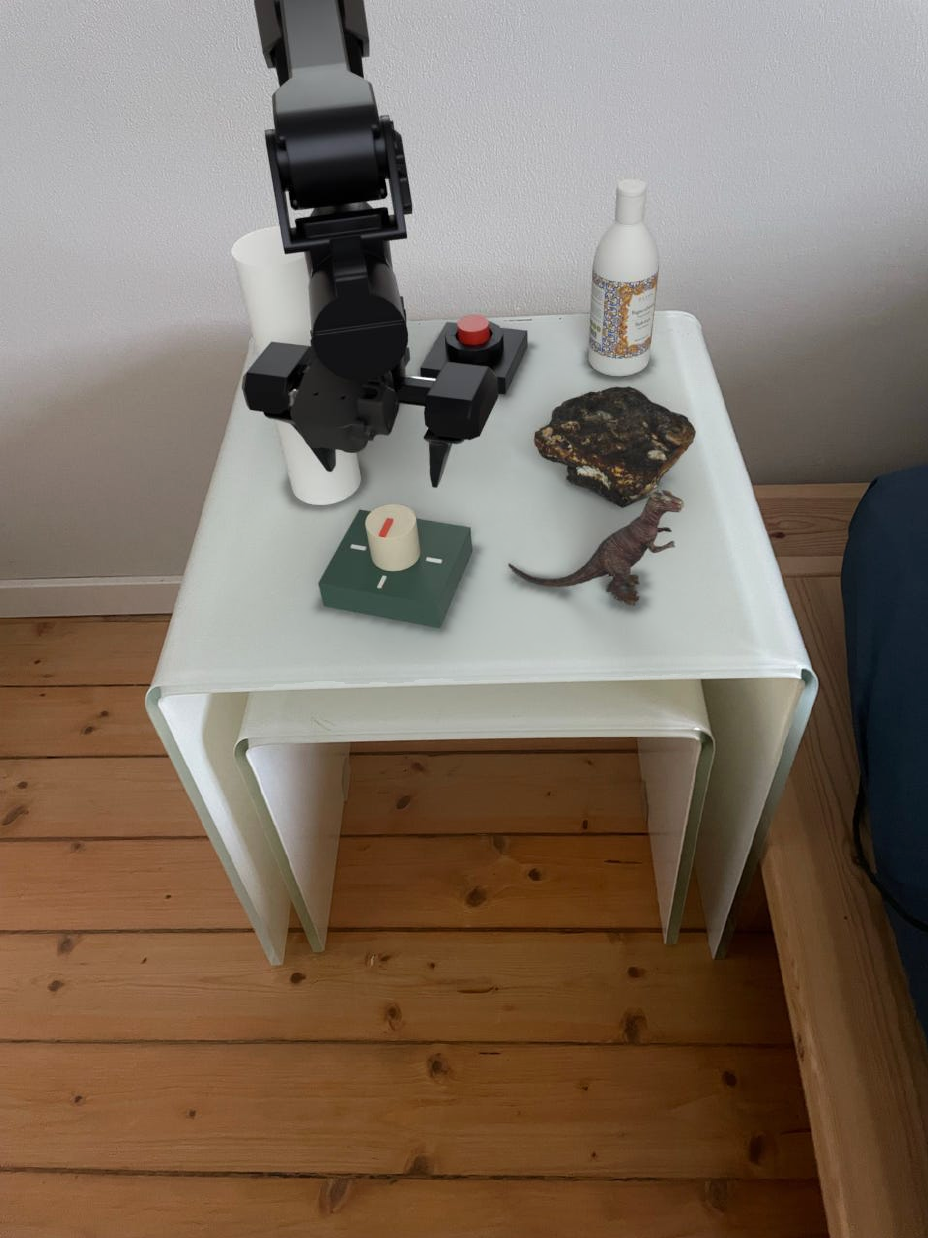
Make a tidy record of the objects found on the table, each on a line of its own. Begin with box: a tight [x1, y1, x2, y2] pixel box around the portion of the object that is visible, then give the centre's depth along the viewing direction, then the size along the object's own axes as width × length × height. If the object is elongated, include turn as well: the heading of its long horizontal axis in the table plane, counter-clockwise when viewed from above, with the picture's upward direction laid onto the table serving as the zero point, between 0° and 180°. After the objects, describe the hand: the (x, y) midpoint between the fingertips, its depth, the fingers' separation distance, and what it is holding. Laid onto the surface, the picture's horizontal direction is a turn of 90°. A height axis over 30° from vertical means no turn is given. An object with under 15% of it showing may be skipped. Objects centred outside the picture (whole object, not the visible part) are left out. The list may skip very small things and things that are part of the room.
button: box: [456, 314, 490, 345], centre depth 103 cm, size 4×4×2 cm
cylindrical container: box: [230, 225, 362, 506], centre depth 84 cm, size 7×7×25 cm
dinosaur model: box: [507, 489, 685, 606], centre depth 77 cm, size 4×12×15 cm
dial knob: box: [365, 503, 420, 571], centre depth 80 cm, size 4×4×4 cm
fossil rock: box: [533, 386, 697, 509], centre depth 90 cm, size 14×14×6 cm
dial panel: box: [317, 509, 473, 629], centre depth 82 cm, size 11×10×3 cm
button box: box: [419, 320, 529, 395], centre depth 105 cm, size 10×10×4 cm
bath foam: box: [588, 178, 660, 377], centre depth 98 cm, size 7×7×20 cm
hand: (383, 476), depth 75 cm, fingers open, 9 cm apart
